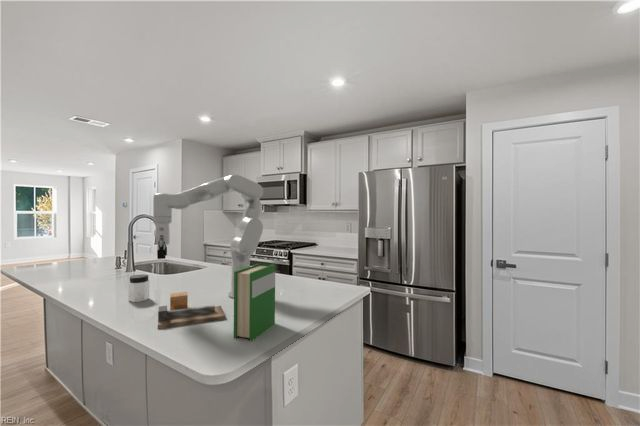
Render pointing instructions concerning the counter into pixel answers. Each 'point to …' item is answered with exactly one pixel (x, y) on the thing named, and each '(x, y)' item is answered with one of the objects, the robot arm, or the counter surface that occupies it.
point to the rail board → (188, 316)
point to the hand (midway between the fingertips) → (162, 257)
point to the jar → (138, 288)
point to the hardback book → (254, 300)
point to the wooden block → (178, 301)
